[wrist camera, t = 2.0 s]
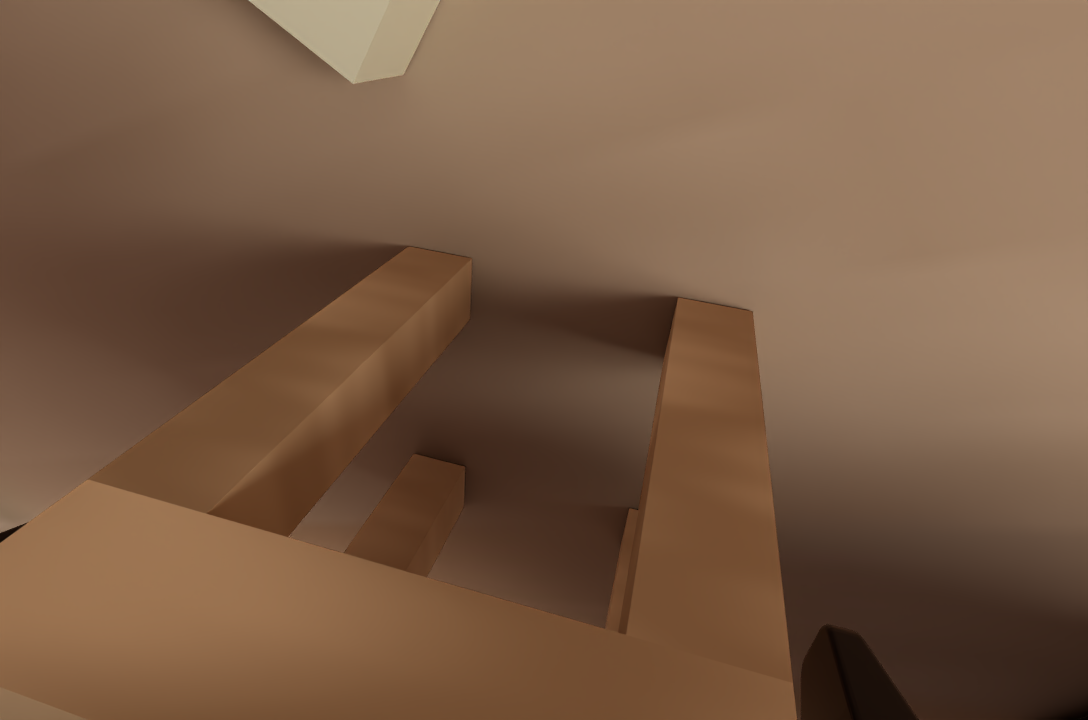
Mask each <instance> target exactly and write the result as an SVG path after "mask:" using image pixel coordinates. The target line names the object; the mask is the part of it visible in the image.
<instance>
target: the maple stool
mask: <svg viewBox="0 0 1088 720" xmlns="http://www.w3.org/2000/svg"><path fill="white" fill-rule="evenodd" d="M471 277H472V258H467V257H462V256H457V255H451V254H446V253H441V252H436V251H430V250H425V249H420V248H414V247H407V248H406V249H404V250H403V251H402V252H400V253H399V254H398V255H396V256H395V257H393V258H392V259H391V260H389V261H388V262H387V263H385V264H384V265H382V266H381V267H380V268H378V269H377V270H375V271H374V272H373V273H371V274H370V275H369V276H367V277H366V278H364V279H363V280H362V281H360V282H359V283H358V284H356V285H355V286H353V287H352V288H351V289H349V290H348V291H347V292H345V293H344V294H342V295H341V296H340V297H338V298H337V299H336V300H334V301H333V302H331V303H330V304H329V305H327V306H326V307H325V308H323V309H322V310H320V311H319V312H318V313H316V314H315V315H314V316H312V317H311V318H309V319H308V320H307V321H305V322H304V323H302V324H301V325H300V326H298V327H297V328H296V329H294V330H293V331H291V332H290V333H289V334H287V335H286V336H285V337H283V338H282V339H280V340H279V341H278V342H276V343H275V344H274V345H272V346H271V347H269V348H268V349H267V350H265V351H264V352H263V353H261V354H260V355H258V356H257V357H256V358H254V359H253V360H252V361H250V362H249V363H247V364H246V365H245V366H243V367H242V368H241V369H239V370H238V371H236V372H235V373H234V374H232V375H231V376H229V377H228V378H227V379H225V380H224V381H223V382H221V383H220V384H218V385H217V386H216V387H214V388H213V389H212V390H210V391H209V392H207V393H206V394H205V395H203V396H202V397H201V398H199V399H198V400H196V401H195V402H194V403H192V404H191V405H190V406H188V407H187V408H185V409H184V410H183V411H181V412H180V413H179V414H177V415H176V416H174V417H173V418H172V419H170V420H169V421H167V422H166V423H165V424H163V425H162V426H161V427H159V428H158V429H156V430H155V431H154V432H152V433H151V434H150V435H148V436H147V437H145V438H144V439H143V440H141V441H140V442H139V443H137V444H136V445H134V446H133V447H132V448H130V449H129V450H128V451H126V452H125V453H123V454H122V455H121V456H119V457H118V458H117V459H115V460H114V461H112V462H111V463H110V464H108V465H107V466H106V467H104V468H103V469H101V470H100V471H99V472H97V473H96V474H94V475H93V476H92V477H90V478H89V479H88V480H86V481H85V482H83V483H82V484H81V485H79V486H78V487H77V488H75V489H74V490H72V491H71V492H70V493H68V494H67V495H66V496H64V497H63V498H61V499H60V500H59V501H57V502H56V503H55V504H53V505H52V506H50V507H49V508H48V509H46V510H45V511H44V512H42V513H41V514H39V515H38V516H37V517H35V518H34V519H32V520H31V521H30V522H28V523H27V524H26V525H24V526H23V527H21V528H20V529H19V530H17V531H16V532H15V533H13V534H12V535H10V536H9V537H8V538H6V539H5V540H4V541H2V542H1V543H0V720H797V715H796V706H795V697H794V688H793V679H792V669H791V660H790V651H789V642H788V633H787V623H786V614H785V605H784V596H783V587H782V577H781V568H780V559H779V550H778V541H777V531H776V522H775V513H774V504H773V495H772V486H771V476H770V467H769V458H768V449H767V440H766V430H765V421H764V412H763V403H762V394H761V384H760V375H759V366H758V357H757V348H756V338H755V329H754V320H753V312H752V311H747V310H742V309H737V308H731V307H726V306H721V305H715V304H710V303H705V302H700V301H694V300H689V299H684V298H679V297H678V300H677V304H676V309H675V313H674V317H673V322H672V326H671V330H670V335H669V339H668V343H667V348H666V352H665V356H664V361H663V367H662V373H661V379H660V385H659V391H658V397H657V403H656V409H655V415H654V421H653V427H652V433H651V439H650V444H649V450H648V456H647V462H646V468H645V474H644V480H643V486H642V492H641V498H640V504H639V510H635V509H631V508H629V512H628V516H627V521H626V525H625V529H624V534H623V538H622V542H621V547H620V551H619V557H618V562H617V567H616V572H615V578H614V583H613V588H612V593H611V599H610V604H609V609H608V614H607V620H606V625H605V629H604V628H600V627H597V626H593V625H590V624H587V623H583V622H580V621H576V620H573V619H569V618H566V617H562V616H559V615H555V614H552V613H548V612H545V611H542V610H538V609H535V608H531V607H528V606H524V605H521V604H517V603H514V602H510V601H507V600H503V599H500V598H497V597H493V596H490V595H486V594H483V593H479V592H476V591H472V590H469V589H465V588H462V587H458V586H455V585H451V584H448V583H445V582H441V581H438V580H434V579H431V578H427V576H428V574H429V572H430V570H431V568H432V566H433V564H434V563H435V561H436V559H437V557H438V555H439V553H440V551H441V549H442V547H443V545H444V544H445V542H446V540H447V538H448V536H449V534H450V532H451V530H452V528H453V527H454V525H455V523H456V521H457V519H458V517H459V515H460V513H461V511H462V509H463V508H464V488H465V467H464V466H460V465H456V464H453V463H449V462H445V461H441V460H437V459H433V458H429V457H425V456H421V455H417V454H413V456H412V457H411V459H410V460H409V461H408V463H407V464H406V466H405V467H404V468H403V470H402V471H401V473H400V474H399V475H398V477H397V478H396V480H395V481H394V483H393V484H392V485H391V487H390V488H389V490H388V491H387V492H386V494H385V495H384V497H383V498H382V500H381V501H380V502H379V504H378V505H377V507H376V508H375V509H374V511H373V512H372V514H371V515H370V516H369V518H368V519H367V521H366V522H365V524H364V525H363V526H362V528H361V529H360V531H359V532H358V533H357V535H356V536H355V538H354V539H353V541H352V542H351V543H350V545H349V546H348V548H347V549H346V550H345V552H344V553H341V552H337V551H334V550H330V549H327V548H323V547H320V546H316V545H313V544H310V543H306V542H303V541H299V540H296V539H292V538H289V537H288V536H289V535H290V534H291V533H292V531H293V530H294V529H295V528H296V527H297V525H298V524H299V523H300V522H301V521H302V519H303V518H304V517H305V516H306V515H307V513H308V512H309V511H310V510H311V509H312V507H313V506H314V505H315V504H316V503H317V502H318V500H319V499H320V498H321V497H322V496H323V494H324V493H325V492H326V491H327V490H328V488H329V487H330V486H331V485H332V484H333V482H334V481H335V480H336V479H337V478H338V476H339V475H340V474H341V473H342V472H343V470H344V469H345V468H346V467H347V466H348V464H349V463H350V462H351V461H352V460H353V459H354V457H355V456H356V455H357V454H358V453H359V451H360V450H361V449H362V448H363V447H364V445H365V444H366V443H367V442H368V441H369V439H370V438H371V437H372V436H373V435H374V433H375V432H376V431H377V430H378V429H379V427H380V426H381V425H382V424H383V423H384V421H385V420H386V419H387V418H388V417H389V416H390V414H391V413H392V412H393V411H394V410H395V408H396V407H397V406H398V405H399V404H400V402H401V401H402V400H403V399H404V398H405V396H406V395H407V394H408V393H409V392H410V390H411V389H412V388H413V387H414V386H415V384H416V383H417V382H418V381H419V380H420V379H421V377H422V376H423V375H424V374H425V373H426V371H427V370H428V369H429V368H430V367H431V365H432V364H433V363H434V362H435V361H436V359H437V358H438V357H439V356H440V355H441V353H442V352H443V351H444V350H445V349H446V347H447V346H448V345H449V344H450V343H451V341H452V340H453V339H454V338H455V337H456V336H457V334H458V333H459V332H460V331H461V330H462V328H463V327H464V326H465V325H466V324H467V322H468V321H469V320H470V307H471Z"/></svg>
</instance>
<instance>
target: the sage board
mask: <svg viewBox="0 0 1088 720" xmlns="http://www.w3.org/2000/svg"><path fill="white" fill-rule="evenodd" d="M249 1H250V2H251V3H252V4H254V5H255V6H256V7H257V8H259V9H260V10H261V11H262V12H264V13H265V14H266V15H267V16H269V17H270V18H271V19H272V20H274V21H275V22H276V23H277V24H279V25H280V26H281V27H282V28H284V29H285V30H286V31H287V32H289V33H290V34H291V35H292V36H294V37H295V38H296V39H297V40H299V41H300V42H301V43H302V44H304V45H305V46H306V47H307V48H309V49H310V50H311V51H312V52H314V53H315V54H316V55H317V56H319V57H320V58H321V59H322V60H324V61H325V62H326V63H327V64H329V65H330V66H331V67H332V68H334V69H335V70H336V71H337V72H339V73H340V74H341V75H342V76H344V77H345V78H346V79H348V80H349V81H350V82H351V83H353V84H355V83H361V82H367V81H372V80H378V79H384V78H389V77H395V76H401V75H404V73H405V71H406V69H407V67H408V65H409V63H410V61H411V59H412V57H413V55H414V53H415V51H416V49H417V47H418V45H419V43H420V41H421V39H422V37H423V34H424V32H425V30H426V28H427V26H428V24H429V22H430V20H431V18H432V16H433V14H434V12H435V10H436V8H437V6H438V4H439V2H440V0H249Z"/></svg>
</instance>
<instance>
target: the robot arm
mask: <svg viewBox="0 0 1088 720" xmlns="http://www.w3.org/2000/svg"><path fill="white" fill-rule="evenodd" d="M26 524H27V523H25V524H23V525H20V526H17V527H15V528H12V529H10V530H7V531H5V532H2V533H0V543H1V542H2V541H4V540H5V539H6V538H8V537H9V536H10V535H12V534H13V533H15V532H16V531H17V530H19V529H20V528H21V527H23V526H24V525H26ZM801 720H919V719H918V718H917V716H916V715H915V714H914V712H913V711H912V709H911V708H910V706H909V705H908V703H907V702H906V700H905V699H904V698H903V696H902V695H901V693H900V692H899V690H898V689H897V687H896V686H895V684H894V683H893V681H892V680H891V679H890V677H889V676H888V674H887V673H886V671H885V670H884V668H883V667H882V665H881V664H880V663H879V661H878V660H877V658H876V657H875V655H874V654H873V652H872V651H871V649H870V648H869V647H868V645H867V644H866V642H865V641H864V639H863V638H862V637H861V636H860V635H859V634H858V633H857V632H855V631H853V630H849V629H846V628H842V627H838V626H834V625H831V624H826V625H824V626H822V628H821V629H820V630H819V632H818V634H817V636H816V638H815V640H814V642H813V643H812V645H811V647H810V649H809V651H808V653H807V655H806V656H805V659H804V661H803V664H802V670H801ZM1077 720H1088V716H1087V717H1084V718H1081V719H1077Z"/></svg>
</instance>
